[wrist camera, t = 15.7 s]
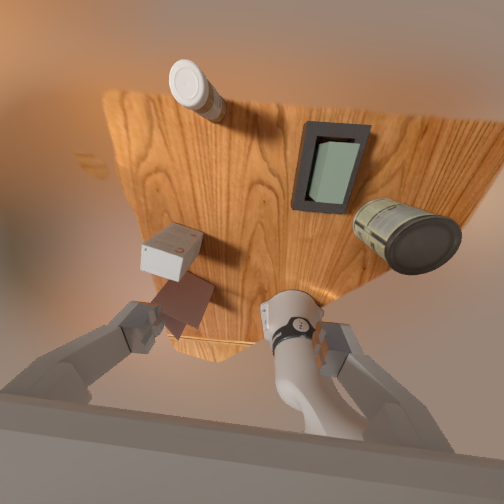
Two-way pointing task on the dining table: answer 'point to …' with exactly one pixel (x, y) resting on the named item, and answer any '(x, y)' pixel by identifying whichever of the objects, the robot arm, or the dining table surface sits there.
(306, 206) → the keyed collar
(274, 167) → the dining table surface
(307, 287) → the dining table surface
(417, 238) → the coffee can
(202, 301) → the greeting card
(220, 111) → the sprinkles bottle
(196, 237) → the small box
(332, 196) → the sage block
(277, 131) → the dining table surface
